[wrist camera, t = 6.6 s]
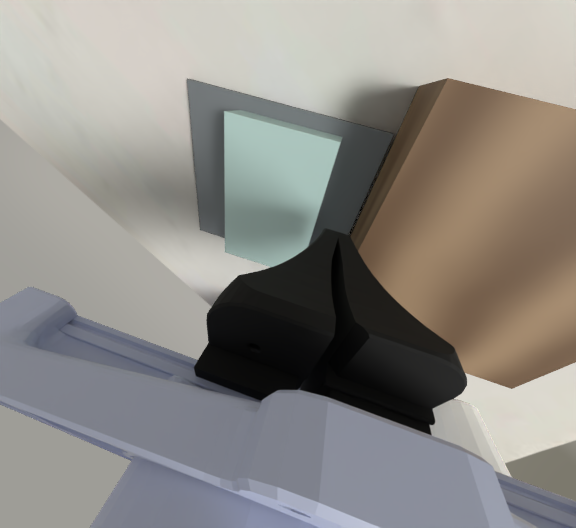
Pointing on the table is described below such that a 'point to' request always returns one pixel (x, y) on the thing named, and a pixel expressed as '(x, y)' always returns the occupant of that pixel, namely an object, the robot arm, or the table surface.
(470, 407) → the white short cylinder
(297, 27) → the table surface
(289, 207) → the mint green flat block
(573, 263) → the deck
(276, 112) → the mat
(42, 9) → the table surface
